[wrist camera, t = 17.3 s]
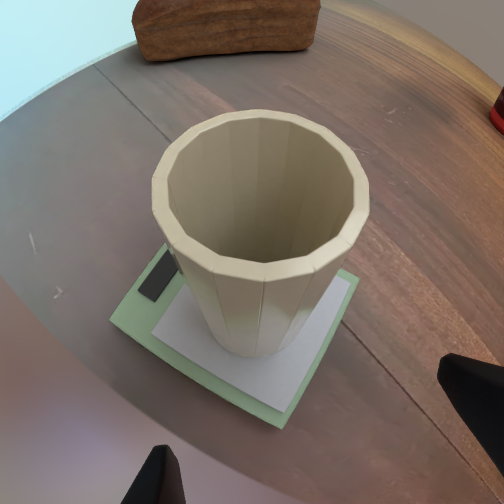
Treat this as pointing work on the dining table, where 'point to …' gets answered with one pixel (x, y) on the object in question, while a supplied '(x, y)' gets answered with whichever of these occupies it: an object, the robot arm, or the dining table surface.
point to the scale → (218, 358)
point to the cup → (258, 221)
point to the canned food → (498, 113)
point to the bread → (222, 26)
